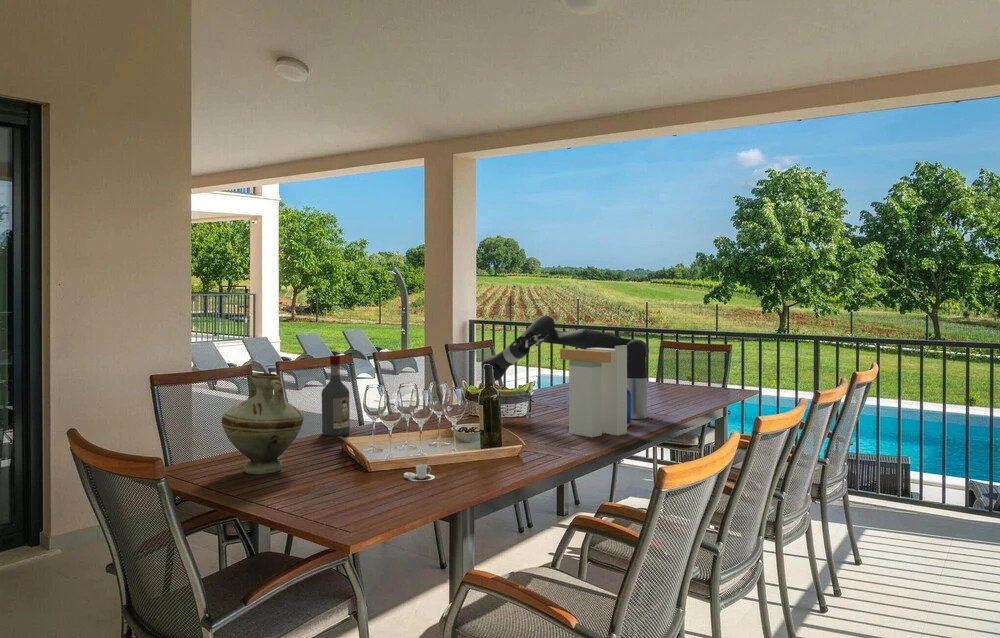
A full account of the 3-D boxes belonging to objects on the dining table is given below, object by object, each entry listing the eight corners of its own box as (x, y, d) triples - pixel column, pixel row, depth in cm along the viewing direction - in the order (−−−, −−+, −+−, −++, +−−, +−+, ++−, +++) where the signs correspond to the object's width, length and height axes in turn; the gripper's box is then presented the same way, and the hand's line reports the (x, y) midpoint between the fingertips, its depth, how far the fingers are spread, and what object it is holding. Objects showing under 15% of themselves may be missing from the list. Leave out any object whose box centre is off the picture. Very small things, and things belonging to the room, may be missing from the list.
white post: (586, 430, 282) (586, 344, 281) (595, 428, 287) (595, 343, 285) (617, 435, 272) (617, 346, 270) (626, 433, 276) (626, 345, 274)
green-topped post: (569, 433, 276) (569, 360, 275) (579, 431, 280) (579, 359, 279) (591, 437, 268) (591, 362, 267) (601, 435, 272) (601, 361, 271)
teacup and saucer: (400, 480, 210) (400, 467, 210) (413, 474, 217) (413, 461, 217) (426, 483, 206) (426, 469, 206) (439, 477, 214) (439, 463, 214)
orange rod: (560, 359, 280) (560, 348, 280) (566, 358, 282) (566, 348, 282) (605, 363, 264) (605, 352, 264) (611, 362, 266) (611, 351, 266)
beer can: (630, 424, 295) (630, 384, 294) (631, 427, 287) (631, 387, 286) (609, 423, 296) (609, 384, 295) (610, 427, 287) (610, 387, 287)
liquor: (318, 434, 276) (317, 356, 275) (334, 430, 284) (333, 354, 283) (337, 436, 272) (336, 357, 271) (353, 432, 280) (352, 355, 279)
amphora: (289, 482, 210) (299, 379, 211) (205, 476, 208) (215, 373, 209) (304, 467, 233) (313, 374, 234) (229, 461, 232) (238, 368, 232)
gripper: (500, 344, 296) (524, 325, 286) (524, 342, 306) (549, 323, 296) (507, 360, 294) (531, 341, 283) (531, 357, 304) (556, 339, 293)
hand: (540, 332), depth 290 cm, fingers open, 8 cm apart
